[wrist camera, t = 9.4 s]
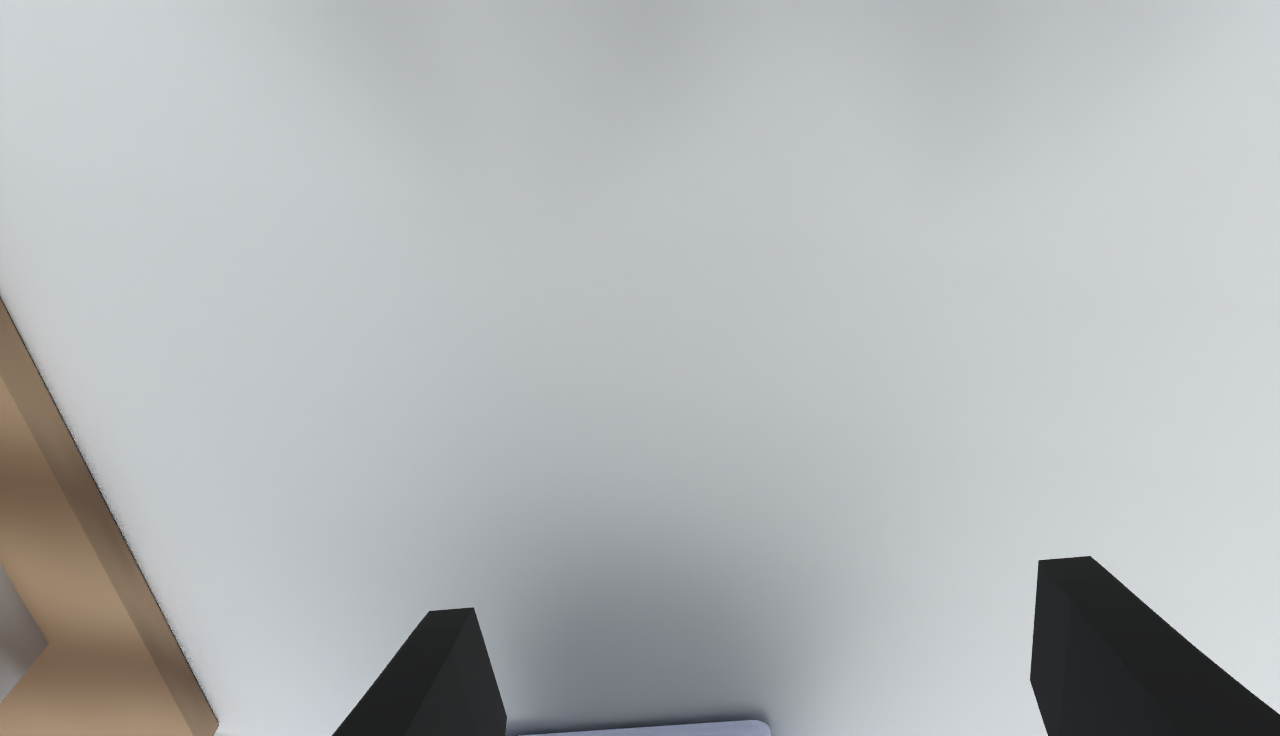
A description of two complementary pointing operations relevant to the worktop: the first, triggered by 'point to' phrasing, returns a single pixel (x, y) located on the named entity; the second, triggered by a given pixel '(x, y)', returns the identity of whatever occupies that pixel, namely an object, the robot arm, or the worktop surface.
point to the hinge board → (74, 589)
